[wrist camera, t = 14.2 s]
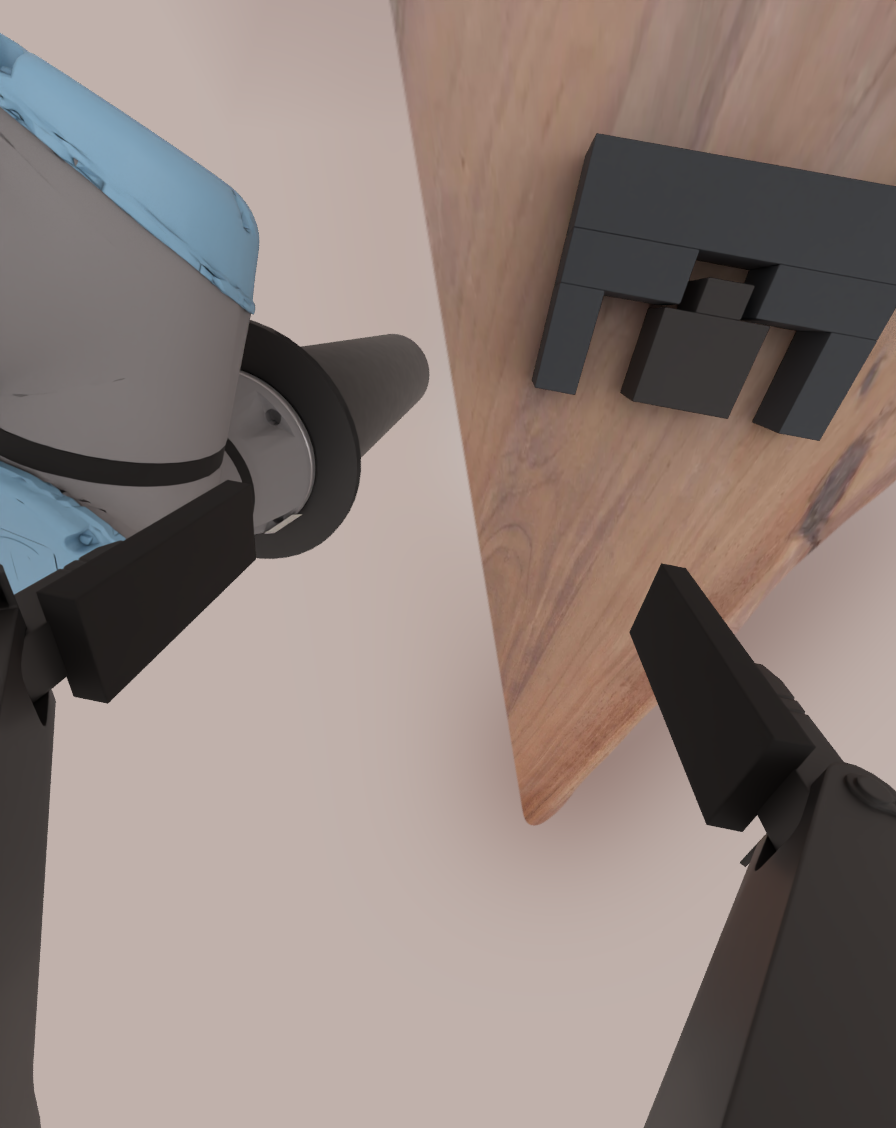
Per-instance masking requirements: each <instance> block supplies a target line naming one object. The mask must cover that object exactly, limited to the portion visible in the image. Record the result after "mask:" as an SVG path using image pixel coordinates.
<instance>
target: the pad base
mask: <svg viewBox="0 0 896 1128" xmlns="http://www.w3.org/2000/svg"><path fill="white" fill-rule="evenodd" d="M566 236H567V237H566V239H565V244H564V248H563V252H562V256H561V260H560V265H559V269H558V273H557V277H556V281H555V286H554V290H553V294H552V298H551V302H550V306H549V311H548V315H547V319H546V323H545V328H544V332H543V336H542V340H541V344H540V349H539V353H538V357H537V361H536V365H535V370H534V374H533V378H532V382H533V384H534V386H535V388H541V389H546V390H551V391H557V392H562V393H567V394H573V395H575V393H576V390H577V386H578V383H579V379H580V376H581V372H582V369H583V365H584V362H585V359H586V355H587V352H588V348H589V345H590V341H591V338H592V334H593V331H594V327H595V324H596V320H597V317H598V313H599V310H600V306H601V303H602V299H603V296H604V295H606V296H611V297H617V298H622V299H627V300H633V301H638V302H644V303H649V304H655V305H660V306H662V305H675V304H680V303H681V300H682V297H683V294H684V292H685V289H686V286H687V283H688V281H689V278H690V275H691V272H692V270H693V267H694V264H695V261H696V260H698V261H704V262H709V263H715V264H720V265H726V266H731V267H737V268H742V269H748V270H750V271H749V272H748V275H747V277H746V280H745V282H744V284H749V285H754V289H753V292H752V294H751V296H750V299H749V301H748V303H747V306H746V308H745V310H744V313H743V315H742V317H741V319H740V320H741V321H747V322H752V323H758V324H763V325H769V326H774V327H780V328H785V329H790V330H796V331H797V332H796V334H795V336H794V338H793V340H792V342H791V344H790V346H789V348H788V350H787V352H786V354H785V356H784V358H783V360H782V362H781V364H780V366H779V368H778V371H777V373H776V375H775V377H774V379H773V381H772V383H771V385H770V387H769V389H768V391H767V393H766V395H765V397H764V399H763V401H762V403H761V405H760V407H759V409H758V411H757V413H756V415H755V417H754V419H753V423H756V424H758V425H760V426H763V427H765V428H768V429H770V430H772V431H775V432H777V433H780V434H785V435H791V436H796V437H801V438H807V439H812V440H817V441H820V439H821V437H822V436H823V434H824V432H825V430H826V429H827V427H828V425H829V423H830V422H831V420H832V418H833V416H834V415H835V413H836V411H837V410H838V408H839V406H840V404H841V403H842V401H843V399H844V397H845V396H846V394H847V392H848V390H849V389H850V387H851V385H852V383H853V382H854V380H855V378H856V377H857V375H858V373H859V371H860V370H861V368H862V366H863V364H864V363H865V361H866V359H867V357H868V356H869V354H870V352H871V351H872V349H873V347H874V345H875V344H876V342H877V341H876V340H878V338H879V336H880V335H881V333H882V331H883V329H884V328H885V326H886V324H887V322H888V321H889V319H890V317H891V315H892V314H893V312H894V310H895V308H896V186H890V185H885V184H879V183H874V182H868V181H862V180H857V179H851V178H845V177H840V176H834V175H829V174H823V173H817V172H812V171H806V170H801V169H795V168H789V167H784V166H778V165H772V164H767V163H761V162H756V161H750V160H744V159H739V158H733V157H728V156H722V155H716V154H711V153H705V152H699V151H694V150H688V149H683V148H677V147H671V146H666V145H660V144H655V143H649V142H643V141H638V140H632V139H626V138H621V137H615V136H610V135H604V134H598V133H597V134H596V136H595V138H594V140H593V142H592V144H591V146H590V148H589V150H588V151H587V153H586V155H585V159H584V164H583V168H582V172H581V176H580V180H579V185H578V189H577V193H576V197H575V201H574V206H573V210H572V214H571V218H570V222H569V227H568V231H567V235H566Z"/></svg>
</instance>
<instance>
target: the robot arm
mask: <svg viewBox="0 0 896 1128" xmlns="http://www.w3.org/2000/svg"><path fill="white" fill-rule="evenodd" d="M258 251H259V233H258V228H257V224H256V221H255V219H254V216H253V214H252V212H251V210H250V209H249V207H248V206H247V204H246V202H245V201H244V200H243V198H242V197H241V196H240V195H239V194H238V193H237V192H236V191H235V190H234V189H233V188H232V187H230V186H229V185H228V184H226V183H225V182H224V181H222V180H221V179H220V178H218V177H217V176H215V175H214V174H213V173H211V172H210V171H209V170H207V169H206V168H204V167H203V166H201V165H200V164H199V163H197V162H196V161H194V160H193V159H192V158H190V157H189V156H187V155H185V154H184V153H183V152H181V151H180V150H178V149H177V148H176V147H174V146H173V145H171V144H170V143H168V142H167V141H165V140H164V139H162V138H161V137H159V136H158V135H156V134H155V133H154V132H152V131H150V130H149V129H148V128H146V127H145V126H143V125H141V124H140V123H139V122H137V121H136V120H134V119H133V118H131V117H130V116H128V115H127V114H125V113H124V112H122V111H121V110H119V109H118V108H116V107H115V106H113V105H112V104H110V103H109V102H107V101H105V100H104V99H103V98H101V97H99V96H98V95H96V94H95V93H93V92H92V91H90V90H89V89H87V88H86V87H84V86H83V85H81V84H80V83H78V82H77V81H75V80H74V79H72V78H71V77H69V76H68V75H66V74H64V73H63V72H61V71H60V70H58V69H57V68H55V67H53V66H52V65H50V64H49V63H47V62H46V61H44V60H43V59H41V58H39V57H38V56H36V55H35V54H32V53H30V52H28V51H27V50H26V49H24V48H23V47H22V46H20V45H19V44H17V43H16V42H14V41H12V40H11V39H9V38H8V37H6V36H4V35H3V34H1V33H0V1128H41V1125H40V1116H39V1112H38V1108H37V1102H36V1098H35V1094H34V1084H33V1057H34V1042H35V1024H36V1010H37V994H38V993H37V992H38V977H39V962H40V946H41V929H42V913H43V897H44V896H43V895H44V881H45V864H46V849H47V848H46V847H47V832H48V816H49V800H50V784H51V766H52V752H53V735H54V718H55V703H56V701H55V698H54V695H53V692H52V690H51V689H52V688H53V687H54V686H56V685H57V684H58V683H59V682H60V681H62V680H63V679H64V678H65V677H67V679H68V682H69V685H70V687H71V690H72V693H73V696H74V697H79V698H83V699H89V700H93V701H98V702H103V703H109V702H110V701H111V700H112V699H113V698H114V697H115V696H116V695H117V694H118V693H119V692H120V691H121V690H122V689H123V688H124V687H125V686H126V685H127V684H128V683H129V682H130V681H131V680H132V679H133V678H135V677H136V676H137V674H139V673H140V672H141V671H142V670H143V669H144V668H145V667H146V666H147V665H148V664H149V663H150V662H151V661H152V660H153V659H154V658H155V657H156V656H157V655H158V654H159V653H160V652H161V651H162V650H163V649H164V648H165V647H166V646H167V645H168V644H169V643H170V642H171V641H172V640H174V639H175V638H176V637H177V636H178V635H179V634H180V633H181V632H182V631H183V629H185V628H186V627H187V626H188V625H189V624H190V623H191V622H192V621H193V620H194V619H195V618H196V617H197V616H198V615H199V614H200V613H201V612H202V611H203V610H204V609H205V608H206V607H207V606H208V605H209V604H210V603H211V602H212V601H213V600H215V598H217V597H218V596H219V595H220V594H221V593H222V592H223V591H224V590H225V589H226V588H227V587H228V586H229V585H230V584H231V583H232V582H233V581H234V580H235V579H236V578H237V577H238V576H239V575H240V574H241V573H242V572H243V571H244V570H245V569H246V568H247V567H248V566H249V565H250V564H251V563H252V562H253V561H254V560H255V559H256V554H255V538H254V534H258V533H263V532H266V531H267V532H266V533H264V534H268V533H275V532H276V531H278V530H279V529H281V528H282V527H284V526H285V525H287V524H288V523H290V522H292V521H293V520H295V519H296V518H298V517H299V516H301V515H302V514H298V515H296V514H297V513H298V512H299V511H300V510H301V509H302V508H303V507H304V506H305V504H306V503H307V501H308V500H309V498H310V496H311V494H312V491H313V489H314V485H315V481H316V475H317V459H316V452H315V448H314V443H313V440H312V437H311V435H310V432H309V430H308V428H307V426H306V424H305V422H304V420H303V418H302V417H301V415H300V414H299V412H298V411H297V409H296V408H295V407H294V405H293V404H292V403H291V402H290V401H289V400H288V399H287V398H286V397H285V396H284V395H283V394H282V393H281V392H280V391H279V390H278V389H277V388H275V387H274V386H273V385H271V384H270V383H268V382H267V381H266V380H264V379H262V378H260V377H259V376H257V375H255V374H252V373H250V372H248V371H245V370H242V369H240V367H241V362H242V357H243V352H244V347H245V342H246V337H247V331H248V326H249V321H250V316H251V314H254V312H255V304H254V302H253V291H254V281H255V273H256V265H257V258H258ZM630 635H631V637H632V640H633V642H634V645H635V647H636V650H637V652H638V655H639V657H640V660H641V662H642V665H643V667H644V670H645V672H646V675H647V677H648V680H649V682H650V685H651V687H652V690H653V692H654V695H655V697H656V700H657V702H658V705H659V707H660V710H661V712H662V715H663V717H664V720H665V722H666V725H667V727H668V729H669V732H670V735H671V737H672V740H673V742H674V745H675V747H676V750H677V752H678V755H679V757H680V760H681V762H682V764H683V767H684V770H685V772H686V775H687V777H688V780H689V782H690V785H691V787H692V789H693V792H694V795H695V797H696V800H697V802H698V805H699V807H700V810H701V812H702V815H703V817H704V819H705V822H706V824H707V825H711V826H716V827H720V828H726V829H730V830H736V831H740V832H743V831H744V830H745V828H746V827H747V826H748V825H749V824H750V822H751V821H752V820H753V819H754V818H755V817H756V816H757V815H758V817H759V819H760V821H761V823H762V825H763V827H764V828H765V831H766V832H767V833H766V835H765V836H764V837H763V838H762V839H761V840H760V841H759V842H758V843H757V845H756V846H755V847H754V848H753V849H752V850H751V851H750V852H749V853H748V854H747V855H746V856H745V857H744V858H743V860H742V861H741V862H740V863H741V864H742V865H744V866H745V867H746V866H747V865H748V864H749V863H750V864H749V866H748V869H747V871H746V874H745V876H744V879H743V881H742V884H741V886H740V889H739V891H738V893H737V896H736V898H735V901H734V904H733V906H732V909H731V911H730V914H729V916H728V918H727V921H726V924H725V926H724V928H723V931H722V933H721V936H720V938H719V941H718V944H717V946H716V948H715V951H714V953H713V956H712V958H711V961H710V964H709V966H708V968H707V971H706V973H705V976H704V978H703V981H702V983H701V986H700V988H699V991H698V994H697V996H696V998H695V1001H694V1003H693V1006H692V1008H691V1011H690V1013H689V1016H688V1018H687V1021H686V1023H685V1026H684V1028H683V1031H682V1033H681V1036H680V1039H679V1041H678V1044H677V1046H676V1048H675V1051H674V1053H673V1056H672V1059H671V1061H670V1064H669V1066H668V1068H667V1071H666V1073H665V1076H664V1078H663V1081H662V1083H661V1086H660V1088H659V1091H658V1094H657V1096H656V1098H655V1101H654V1103H653V1106H652V1108H651V1111H650V1113H649V1116H648V1119H647V1121H646V1123H645V1126H644V1128H896V791H895V790H894V789H893V788H891V787H890V786H889V785H888V784H887V783H885V782H884V781H882V780H881V779H880V778H878V777H877V776H875V775H874V774H872V773H870V772H868V771H866V770H864V769H862V768H860V767H858V766H856V765H852V764H848V763H845V762H843V760H842V759H841V758H840V757H839V755H838V754H837V752H836V751H835V750H834V749H833V747H832V746H831V745H830V743H829V742H828V741H827V739H826V738H825V737H824V736H823V734H822V733H821V732H820V730H819V729H818V728H817V726H816V725H815V724H814V722H813V721H812V720H811V719H810V717H809V716H808V715H805V711H804V710H803V708H802V707H801V705H800V704H799V703H798V702H797V701H795V700H794V696H793V695H792V694H791V692H790V691H789V690H788V689H787V687H786V686H785V685H784V683H783V682H782V681H781V680H780V679H779V678H778V677H776V676H775V675H774V674H773V673H772V672H770V671H769V670H768V669H767V668H766V667H764V666H763V665H761V664H756V663H754V661H753V660H752V659H751V657H750V656H749V654H748V653H747V652H746V651H745V649H744V648H743V646H742V645H741V644H740V642H739V641H738V640H737V638H736V637H735V635H734V634H733V633H732V631H731V630H730V628H729V627H728V626H727V624H726V623H725V622H724V620H723V619H722V617H721V616H720V615H719V613H718V612H717V611H716V609H715V608H714V606H713V605H712V604H711V602H710V601H709V600H708V598H707V597H706V595H705V594H704V593H703V591H702V590H701V589H700V587H699V586H698V584H697V583H696V582H695V580H694V579H693V578H692V576H691V575H690V573H689V572H688V571H687V569H686V568H682V567H677V566H672V565H667V564H662V563H661V565H660V567H659V569H658V572H657V574H656V576H655V578H654V580H653V582H652V585H651V587H650V589H649V591H648V593H647V595H646V598H645V600H644V602H643V604H642V606H641V608H640V611H639V613H638V615H637V617H636V619H635V621H634V624H633V626H632V628H631V630H630Z"/></svg>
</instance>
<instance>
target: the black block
mask: <svg viewBox="0 0 896 1128" xmlns="http://www.w3.org/2000/svg"><path fill="white" fill-rule="evenodd" d="M753 289H754V285H749V284H744V283H738V282H733V281H727V280H722V279H716V278H711V277H709V278H704V279H699V280H694V281H688V283H687V286H686V289H685V292H684V294H683V297H682V300H681V303H680V304H679V305H678V307H677V309H673V308H667V307H662V308H649V309H648V311H647V314H646V317H645V320H644V323H643V326H642V329H641V332H640V335H639V338H638V341H637V344H636V347H635V350H634V353H633V356H632V359H631V362H630V365H629V368H628V371H627V374H626V377H625V380H624V383H623V386H622V389H621V392H620V393H621V394H623V395H624V396H626V397H627V398H629V399H630V400H632V401H635V402H640V403H645V404H651V405H656V406H661V407H667V408H672V409H677V410H683V411H688V412H693V413H699V414H704V415H710V416H715V417H720V418H726V419H728V417H729V415H730V413H731V410H732V408H733V406H734V404H735V402H736V400H737V397H738V395H739V393H740V391H741V389H742V387H743V384H744V382H745V380H746V378H747V376H748V374H749V371H750V369H751V367H752V365H753V363H754V361H755V358H756V356H757V354H758V352H759V350H760V348H761V345H762V343H763V341H764V339H765V337H766V334H767V332H768V330H769V328H770V326H766V325H760V324H755V323H749V322H744V321H739V320H740V319H741V317H742V315H743V313H744V310H745V308H746V306H747V303H748V301H749V299H750V296H751V294H752V292H753Z"/></svg>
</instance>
